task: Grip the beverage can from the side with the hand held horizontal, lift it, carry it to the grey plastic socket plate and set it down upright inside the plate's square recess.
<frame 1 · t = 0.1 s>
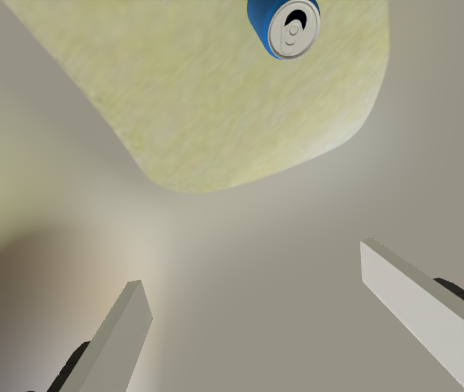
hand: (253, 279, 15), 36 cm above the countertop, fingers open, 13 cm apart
beverage can: (268, 4, 34), on the countertop
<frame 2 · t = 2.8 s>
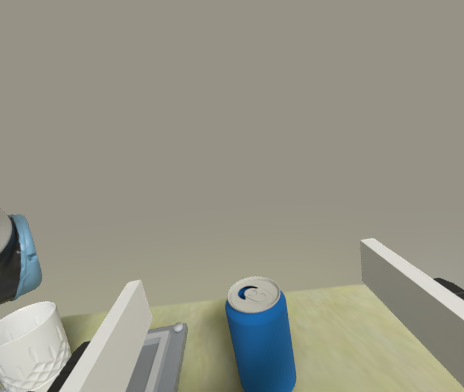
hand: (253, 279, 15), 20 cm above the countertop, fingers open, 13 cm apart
beverage can: (268, 380, 29), on the countertop
socket plate: (127, 380, 32), on the countertop
white cup: (47, 382, 34), on the countertop
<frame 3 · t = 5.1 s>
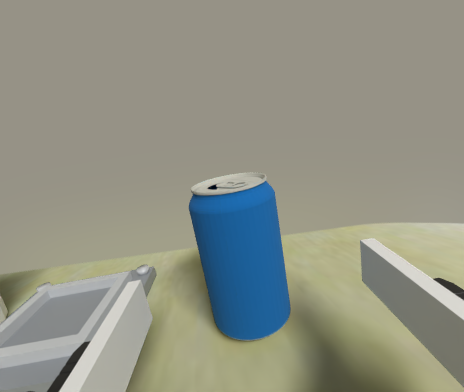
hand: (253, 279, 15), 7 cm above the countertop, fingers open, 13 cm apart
beverage can: (253, 318, 21), on the countertop
socket plate: (67, 327, 24), on the countertop
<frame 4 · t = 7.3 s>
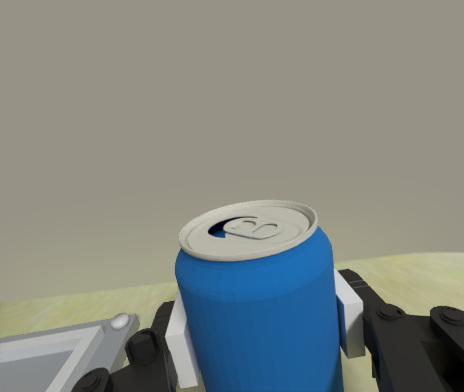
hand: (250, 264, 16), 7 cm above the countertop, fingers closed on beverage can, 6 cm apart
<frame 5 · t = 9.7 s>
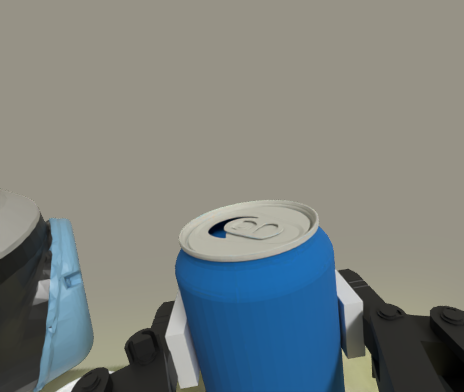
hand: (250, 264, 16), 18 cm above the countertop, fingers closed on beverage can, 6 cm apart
when the fingers open (9 cm above the countertop, at t = 12.4 s): beverage can stays where it is, resting on socket plate.
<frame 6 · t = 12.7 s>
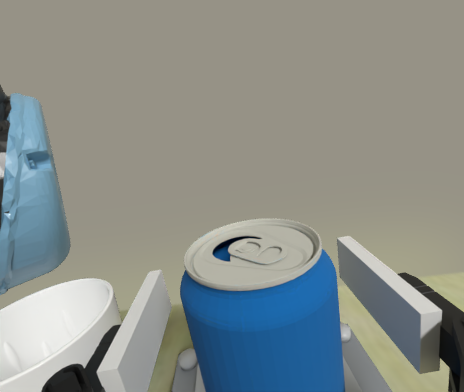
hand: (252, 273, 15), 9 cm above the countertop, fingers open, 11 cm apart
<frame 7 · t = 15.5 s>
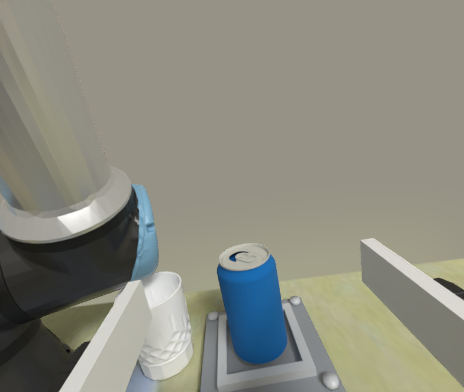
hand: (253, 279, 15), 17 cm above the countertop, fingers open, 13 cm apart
beverage can: (261, 346, 30), point 1 cm above the countertop, touching socket plate
socket plate: (262, 352, 30), on the countertop
white cup: (169, 357, 32), on the countertop
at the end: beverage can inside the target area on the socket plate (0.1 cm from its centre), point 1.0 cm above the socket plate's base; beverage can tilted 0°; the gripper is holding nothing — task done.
